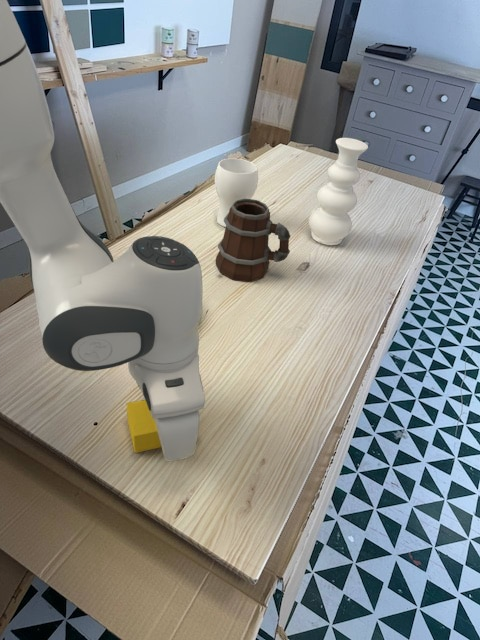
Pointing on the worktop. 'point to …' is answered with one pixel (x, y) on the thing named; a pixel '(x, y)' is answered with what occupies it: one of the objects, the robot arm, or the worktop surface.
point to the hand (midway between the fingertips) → (161, 422)
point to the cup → (234, 183)
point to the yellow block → (142, 427)
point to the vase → (337, 195)
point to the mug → (249, 241)
